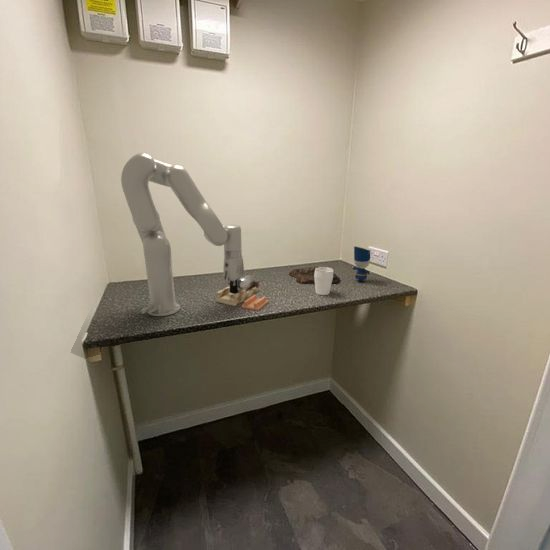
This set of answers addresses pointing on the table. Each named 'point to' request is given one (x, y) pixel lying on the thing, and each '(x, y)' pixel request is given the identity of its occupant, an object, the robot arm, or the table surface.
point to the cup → (323, 280)
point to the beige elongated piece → (236, 295)
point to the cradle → (255, 303)
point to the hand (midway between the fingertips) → (233, 292)
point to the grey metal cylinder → (245, 283)
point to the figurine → (361, 262)
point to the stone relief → (309, 276)
